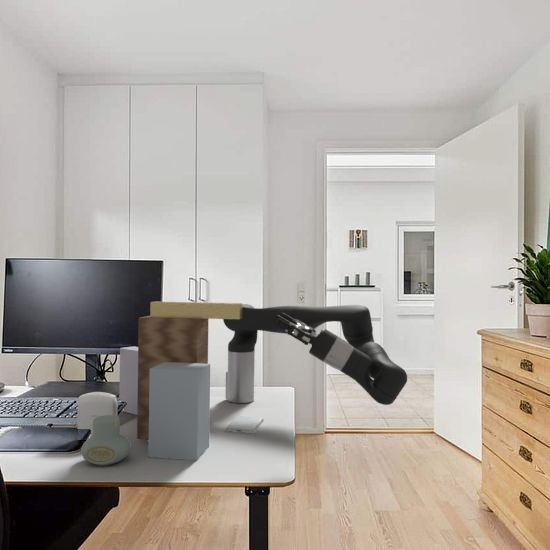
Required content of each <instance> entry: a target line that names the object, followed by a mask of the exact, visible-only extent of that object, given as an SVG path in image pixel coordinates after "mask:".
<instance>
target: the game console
mask: <svg viewBox="0 0 550 550" xmlns="http://www.w3.org/2000/svg"><path fill="white" fill-rule="evenodd" d="M118 395H119V396H118V398H119V399H122V400H124V401H125V402H126V403H127V405H126V407H125V408H124V410H122V412H124V413H129V414H132V415H135V416H137V400H138V346H127V347H125V346H124V347H120V348H119V393H118ZM119 399H118V400H119Z"/></svg>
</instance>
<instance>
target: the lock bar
mask: <svg viewBox="0 0 550 550" xmlns="http://www.w3.org/2000/svg"><path fill="white" fill-rule="evenodd" d="M149 304H150V305H149V306H150V307H149V308H150V315H149V316H150V317H158V318H204V319H208V320H209V319H210V320H211V319H213V320H215V319H216V320H223V319H241V318H242V304H243V302H205V301H203V302H201V301H199V302H197V301H189V302H188V301H151V302H150V303H149Z"/></svg>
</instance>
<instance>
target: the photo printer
mask: <svg viewBox="0 0 550 550" xmlns="http://www.w3.org/2000/svg"><path fill="white" fill-rule="evenodd" d="M77 399H78V400H77V412H76V413H77V414H76V415H77V417H76V418H77V428H76V429H90V430H91V436H90V437H92V436H93V420H94V419H95V418H96V417H99V416H105V415H114V416H118V399H117V395H115V394H112V393H109V392H105V391H103V392H102V391H92V392H87V393H84V394H81V395H80V396H79V397H78V398H77Z"/></svg>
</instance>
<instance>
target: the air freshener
mask: <svg viewBox="0 0 550 550" xmlns="http://www.w3.org/2000/svg"><path fill="white" fill-rule="evenodd" d="M120 419H121V418H120V417H119V416H118V415H117V416H114V415H105V416H99V417H96V418H95V419H94V420H93V436H92V437H90V438H89V439H88V440H86V441H83V444H82V446H81V449H80V451H81V452H80V454H81V456H82V458H83V459H84V460H85V461H86V462H88V463H90V464H93V465H95V466H98V467H107V466H111V465H113V464H118V462H121V461H122V460H124V459H125V458H126V457H127V456H128V455H129V453H130V452H131V447H132V446H131V444H132V443H131V442H130V440H129V438H127V436H126V435H124V434H121V425H120V424H121V420H120Z"/></svg>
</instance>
